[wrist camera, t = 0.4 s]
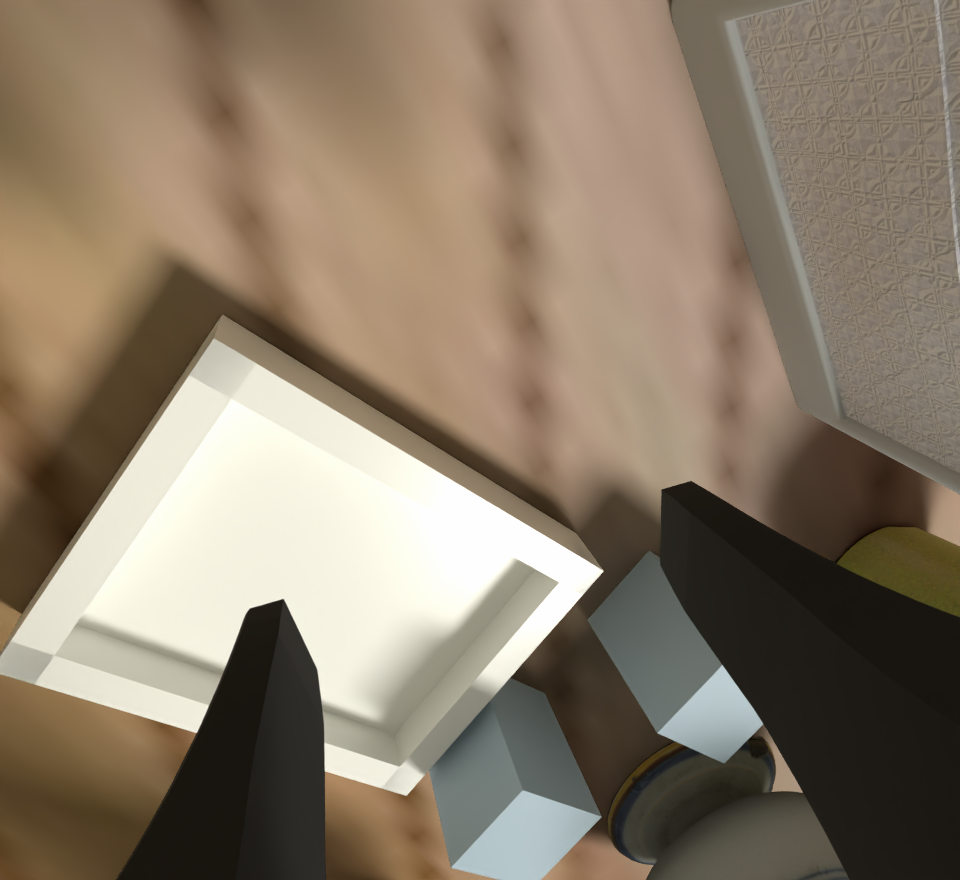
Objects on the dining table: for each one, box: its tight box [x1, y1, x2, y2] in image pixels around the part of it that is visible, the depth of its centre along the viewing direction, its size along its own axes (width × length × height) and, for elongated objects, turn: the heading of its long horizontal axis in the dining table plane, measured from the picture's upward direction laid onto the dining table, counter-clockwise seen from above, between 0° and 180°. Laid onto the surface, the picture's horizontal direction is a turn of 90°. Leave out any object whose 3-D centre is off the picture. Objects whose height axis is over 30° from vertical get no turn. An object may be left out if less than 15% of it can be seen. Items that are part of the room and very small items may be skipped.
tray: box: [0, 314, 603, 796], centre depth 22 cm, size 12×15×2 cm
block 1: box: [429, 678, 602, 880], centre depth 26 cm, size 4×4×6 cm
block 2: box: [587, 551, 763, 763], centre depth 26 cm, size 4×4×6 cm
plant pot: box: [837, 527, 960, 617], centre depth 28 cm, size 9×9×9 cm
